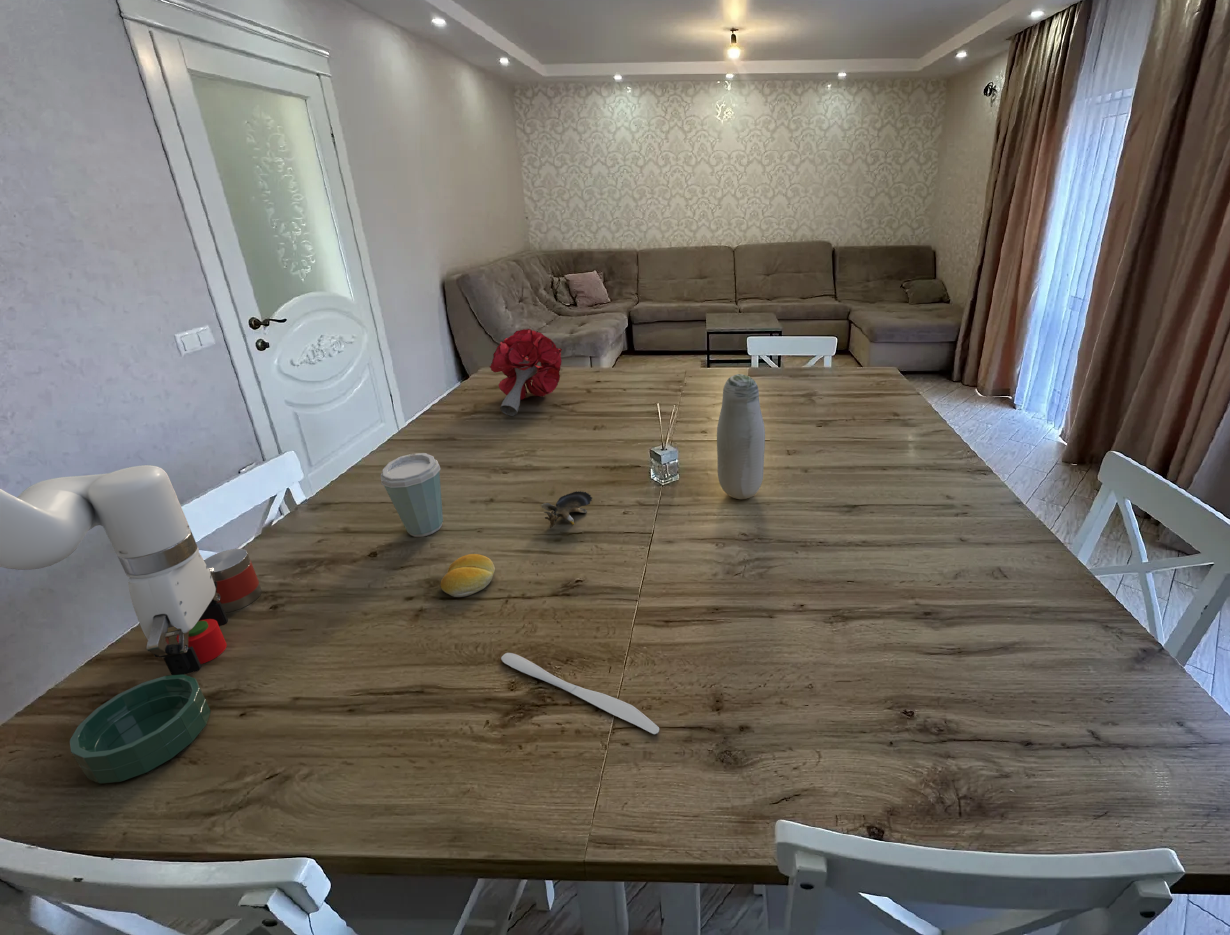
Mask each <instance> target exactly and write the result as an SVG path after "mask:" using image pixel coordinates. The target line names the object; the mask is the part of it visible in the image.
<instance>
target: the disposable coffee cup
mask: <svg viewBox="0 0 1230 935" xmlns="http://www.w3.org/2000/svg"><path fill="white" fill-rule="evenodd" d="M440 472H441V466H440V464H439V462H438V460H437V459H435V456H433V455H431V454H429V453H426V452H418V453H416V452H415V453H410V454H406V455H401V456H399V457H396V458H395V459H393V460H391V461H389V462H388V463H387V464H386V465H385V466H384V467H383V469H382V470H381V473H380V481H381V482H380V483H381V485H382V486H383V487H384V489H385V491H386V492H387V495H388V496H389V499H390V501H391V502H392V505H393V507H394V508H395V511H396V512H397V515H398V516H399V519H400V520H401V522H402V524H403V526H404V529H405V530H406V532H407V533H408V534H409V535H410V536H412V537H413V538H423V537H426V536H430V535H433V534H434V533H436V532H437V531H439V530H440V529H441V528H442V526H443V523H444V516H443V503H442V502H443V501H442V489H441V487H442V486H441V474H440Z"/></svg>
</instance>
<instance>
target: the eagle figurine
mask: <svg viewBox="0 0 1230 935" xmlns="http://www.w3.org/2000/svg"><path fill="white" fill-rule="evenodd" d="M592 501H593V497H592V496H591V494H590V493H588V492H586V491H581V490H580V491H579V490H578V491H577V490H576V491H573V492H570V493H567V494H565V495H562V496H560V497H559V498H558V499H557V502H556V503H555V504H551V503H550V502H544V503H542V504H541V505H540V506H541V508H542V509H544V510H545V511H543V513H544V514H547V516H545V517H544V519H545V520H547V521H549V527H550V528H553V527H554V526H555V524H556V522H557V520H558V519H560V518H562V519H564V520H566V521H568V522H569V523H570V524H571V525H572V526H574V525H575V522H574V521H575V520H574V518H573V517H572V516H571V515H570V513H580V514H581V513H582V514H587V513H588V510H587V509H586V508H583V507H585V506H588V505H590V504H591V502H592ZM550 511H551V512H550Z"/></svg>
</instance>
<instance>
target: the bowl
mask: <svg viewBox="0 0 1230 935" xmlns="http://www.w3.org/2000/svg"><path fill="white" fill-rule="evenodd" d="M211 713H212V712H211V708H210V705H209V703H208V701H207V699H206V697H205V695H204V693H203V691H202V688H201V686H200V684H199V682H198V679H197V678H195V677H194V676H190V675H188V674H184V675H183V674H181V675H171V674H170V675H163V676H161V677H157V678H154V679H150V680H146V681H143V682H141V683H139V684H137V685H134V686H132V687H131V688H128V689H126V690H124V691H121V692H120V693H118V694H116V695H115V696H113V697H112V698H110V699H109V700H107V701H106V702H104V703H102V704H101V705H100V706H98V707H96V709H94V710H93V711H92V712H91V713H90V714H89V715H88V716H87V717H86V718H84V720H82V721H81V722H80V723H79V724H78V725H77V727H76V729H75V731H74V733H73V734H72V736H71V738H70V739H69V747H70V753H71V754H72V757H73V758H74V759H75V761H76V763H77V765H78V766H79V768H80V769H81V770H82V773H83V774H84V776H85V777H86V778H87V779H88V780H91V781H93V782H95V783H97V784H101V785H102V784H111V783H121V782H124V781H126V780H130V779H133V778H135V777H138V776H141V775H144V774H146V773H148V772H150V771H152V770H154V769H156V768H157V767H159V766H161V765H163V764H164V763H166V762H168V761H170V760H171V759H173V758H174V757H176V756H177V755H178V754H179V753H180V752H181V751H183V750H185V748H187V747H188V746H189V745H190V744H193V742H194V741H195V739H196V738H197V737H198V736H199V734H201V732H202V731H203V730H204V728H205V727H206V726H207V724H208V721H209V718H210V715H211Z"/></svg>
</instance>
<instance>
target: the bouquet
mask: <svg viewBox="0 0 1230 935" xmlns="http://www.w3.org/2000/svg"><path fill="white" fill-rule="evenodd" d="M562 351H563V349H562V348H560V347H559V348H558V347H557V345H556V344H555V342H554V341H553V340H552V339H551V338H549V337H547V336H546V335H544V333H542V332H538V331H537V330H533V329H531V328H527V329H526V328H523V329H519V330H518V329H517V330H516V331H515V332H513V334H511V335H510V336H508V337H505V339H504V338H503V340H502V341H500V342H499V344H498V346H497V347H496V349H495V351H494V352H493V353H492V356H493V357H492V361H491V364H490V365H489V368H490V371H491V372H493V373H502V374H503V375H504V376H505V378H503V379H501V380H500V381H499V383H498V388H499V390H500V391H501V392H502V393H503V394H504V395H505V397H504V399H503V400H502V402H501V404H500V408H499V409H500V411H501V412H502V414H505V415H507V416H516V415H517V414H518V411H519V410H520V405H521V400H524V399H526V397H527V396H526V395H527V394H528V392H529V394H531V395H532V396H535V397H545V396H546V395H549V394H552V393H553V392H554V391H555V389H556V388H557V387H558V385H559V383H560V379H561V375H560V372H561V366H562ZM538 364H540V365H538Z"/></svg>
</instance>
